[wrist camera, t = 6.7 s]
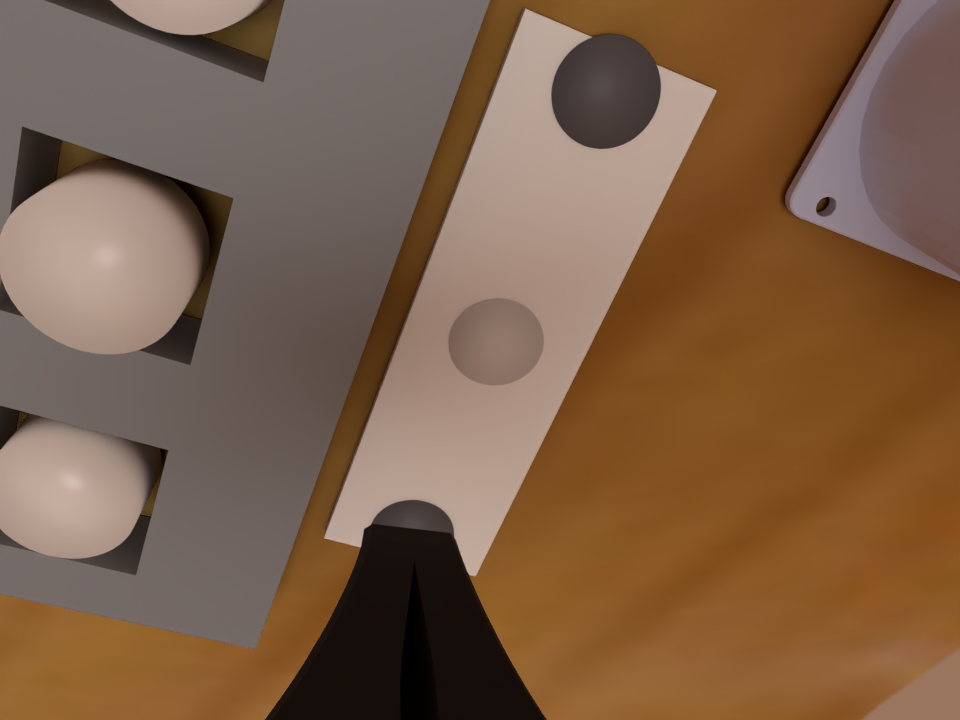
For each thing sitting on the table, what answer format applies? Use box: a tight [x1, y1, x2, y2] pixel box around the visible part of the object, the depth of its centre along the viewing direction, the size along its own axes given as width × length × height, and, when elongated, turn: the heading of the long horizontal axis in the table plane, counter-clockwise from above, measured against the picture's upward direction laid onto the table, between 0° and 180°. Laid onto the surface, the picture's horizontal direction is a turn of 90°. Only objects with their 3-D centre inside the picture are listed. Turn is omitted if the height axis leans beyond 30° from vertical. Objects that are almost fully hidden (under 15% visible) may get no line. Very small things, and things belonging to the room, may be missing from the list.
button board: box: [0, 0, 490, 649], centre depth 19 cm, size 12×22×2 cm, turn 159°
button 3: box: [0, 414, 162, 559], centre depth 22 cm, size 4×4×2 cm
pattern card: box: [324, 8, 717, 576], centre depth 22 cm, size 5×17×1 cm, turn 159°
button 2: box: [0, 160, 210, 354], centre depth 18 cm, size 4×4×2 cm
